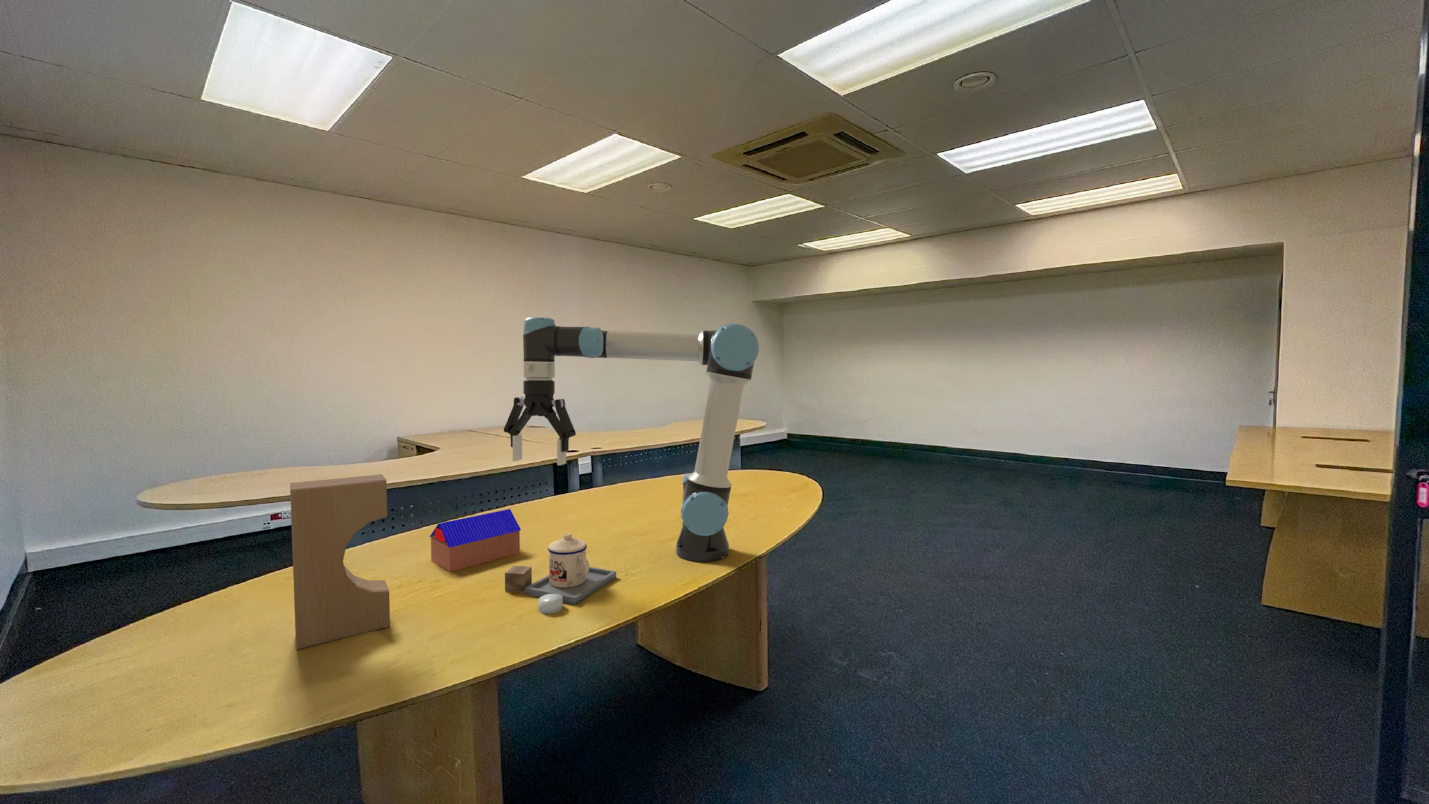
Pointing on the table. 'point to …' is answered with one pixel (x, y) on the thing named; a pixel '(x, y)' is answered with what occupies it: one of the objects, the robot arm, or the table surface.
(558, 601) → the white egg-shaped dome
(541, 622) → the table surface
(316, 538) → the decorative block
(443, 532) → the house
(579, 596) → the tray
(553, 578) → the teacup with lid
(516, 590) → the walnut cube
